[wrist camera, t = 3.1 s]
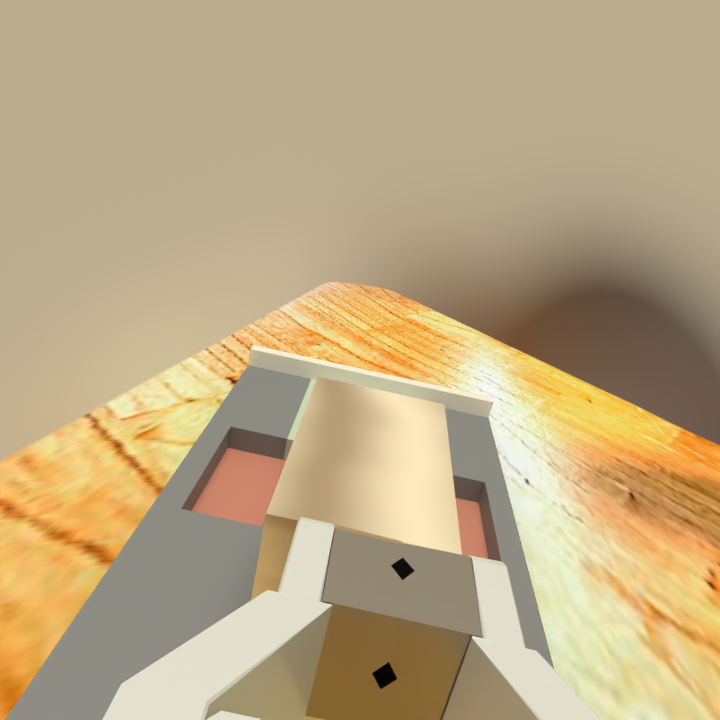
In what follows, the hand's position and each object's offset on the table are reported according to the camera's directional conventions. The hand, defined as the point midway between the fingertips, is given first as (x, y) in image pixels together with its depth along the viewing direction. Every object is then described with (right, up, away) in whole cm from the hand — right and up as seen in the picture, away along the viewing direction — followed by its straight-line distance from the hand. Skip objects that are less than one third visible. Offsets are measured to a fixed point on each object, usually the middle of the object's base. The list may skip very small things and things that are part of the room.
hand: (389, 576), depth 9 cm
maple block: (-2, -9, +18) cm, 21 cm away
